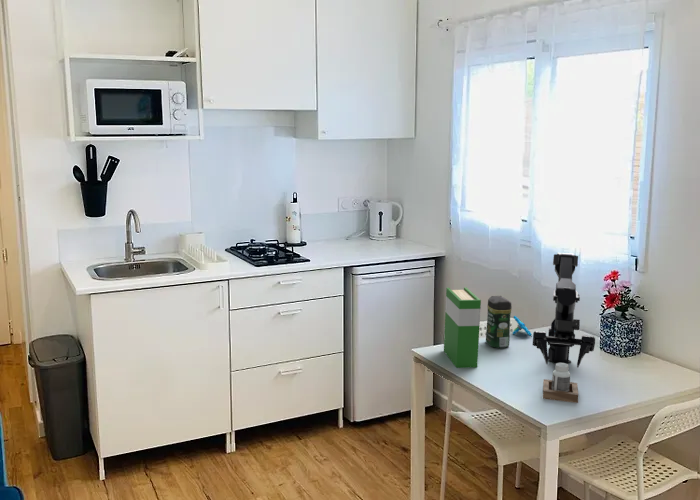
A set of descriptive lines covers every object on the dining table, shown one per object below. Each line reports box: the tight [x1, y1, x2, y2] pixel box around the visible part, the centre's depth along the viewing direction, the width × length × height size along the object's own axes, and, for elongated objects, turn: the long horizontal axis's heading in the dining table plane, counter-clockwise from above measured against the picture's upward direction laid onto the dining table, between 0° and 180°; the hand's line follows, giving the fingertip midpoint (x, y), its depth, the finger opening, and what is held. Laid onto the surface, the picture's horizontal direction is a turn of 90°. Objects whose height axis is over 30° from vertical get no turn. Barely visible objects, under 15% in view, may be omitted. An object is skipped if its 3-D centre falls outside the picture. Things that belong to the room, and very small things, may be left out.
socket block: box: [542, 378, 579, 404], centre depth 227 cm, size 10×10×3 cm
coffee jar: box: [485, 295, 512, 349], centre depth 272 cm, size 10×8×19 cm
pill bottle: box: [551, 363, 571, 392], centre depth 227 cm, size 5×5×10 cm
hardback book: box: [443, 287, 482, 369], centre depth 256 cm, size 18×7×24 cm, turn 7°
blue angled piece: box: [512, 315, 533, 337], centre depth 287 cm, size 11×6×10 cm
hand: (562, 365), depth 224 cm, fingers open, 9 cm apart
